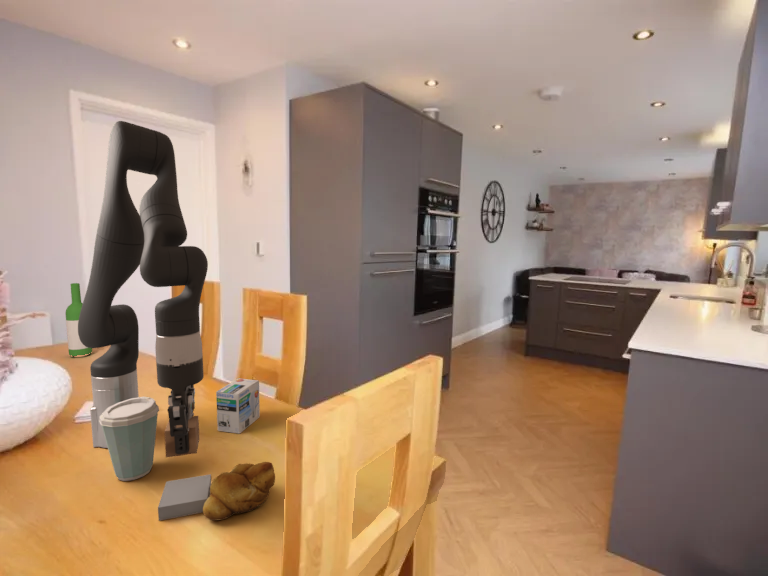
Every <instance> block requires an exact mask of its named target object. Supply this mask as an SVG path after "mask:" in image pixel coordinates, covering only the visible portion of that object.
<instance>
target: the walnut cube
mask: <svg viewBox="0 0 768 576" xmlns="http://www.w3.org/2000/svg"><path fill="white" fill-rule="evenodd" d="M199 418H200V417H199V415H194V416H192V417H191V419H189V452H188V453H184V454H176V453H175V439H174V436H173V437H171V435H170V424H169V420H168V422H167V424H166V426H165V429H164V447H165V449H164V450H165V458H172V457H174V458H175V457H180V456H187V455H188V456H189V455H195V454H197V453H198V450H199V449H198V447H199V444H200V423H199V421H200V420H199ZM179 427H183V426H182V425H177V428H179Z"/></svg>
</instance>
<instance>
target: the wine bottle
mask: <svg viewBox="0 0 768 576" xmlns="http://www.w3.org/2000/svg"><path fill="white" fill-rule="evenodd" d="M80 285H81V284H80V283H77V282H74V283H70V294H71V295H70V297H71V303H70V304H69V305H68V306H67V307H66V310H65V325H66V335H67V336H66V337H67V338H66V339H67V346H68V347H67V348H68V355H72V356H77V355H85V354H89V353H91V352H92V353H93V348H88V347H86V346H84V345H83V344H82V342H81V341H80V338H79V335H78V321H79V315H80V312H81V308H82V305H83V302H82V296H81V295H82V294H81V286H80Z"/></svg>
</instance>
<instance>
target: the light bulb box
mask: <svg viewBox="0 0 768 576" xmlns="http://www.w3.org/2000/svg"><path fill="white" fill-rule="evenodd" d="M215 393H216V395H215V396H216V398H215V399H216V423H217V431H218V432H225V433H234V434H241V433H242V432H244V431H245V430H246V429H247V428H248V427H250V426H251V425H252V424H253V423H255V421H257V420H258V419H259V418H260V416H261V415H260V414H261V413H260V412H261V411H260V381H259V380H258V379H257V380H255V379H246V378H236V379H235V380H233V381H231V382H230V383H228V384H227V385H224V386H223V387H221V388H220V389H218V390H217V391H216V392H215Z"/></svg>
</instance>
